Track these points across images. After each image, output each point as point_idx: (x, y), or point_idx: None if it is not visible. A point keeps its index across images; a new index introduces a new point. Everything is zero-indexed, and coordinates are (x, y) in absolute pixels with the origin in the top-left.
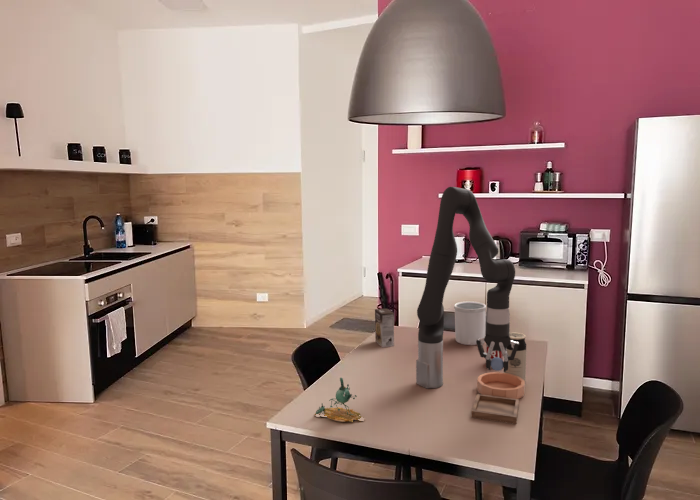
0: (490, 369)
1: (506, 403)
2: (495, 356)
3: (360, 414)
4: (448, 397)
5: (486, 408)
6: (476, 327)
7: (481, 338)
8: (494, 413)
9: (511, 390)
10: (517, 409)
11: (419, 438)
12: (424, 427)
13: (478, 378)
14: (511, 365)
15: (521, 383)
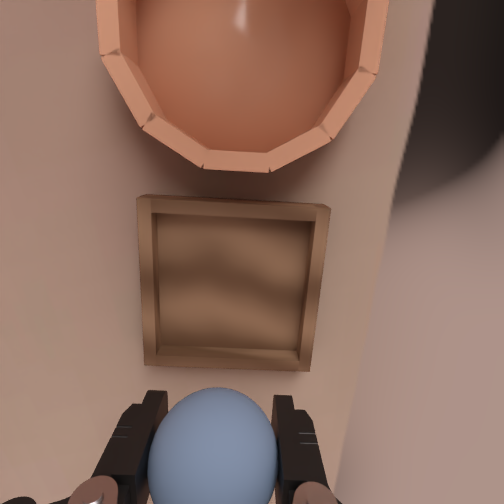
0: (167, 403)
1: (273, 220)
2: None
3: None
4: (18, 197)
5: (195, 287)
6: None
7: None
8: (230, 363)
9: (301, 156)
10: (317, 311)
11: (37, 494)
12: (25, 441)
13: (101, 21)
14: None
15: (365, 40)
